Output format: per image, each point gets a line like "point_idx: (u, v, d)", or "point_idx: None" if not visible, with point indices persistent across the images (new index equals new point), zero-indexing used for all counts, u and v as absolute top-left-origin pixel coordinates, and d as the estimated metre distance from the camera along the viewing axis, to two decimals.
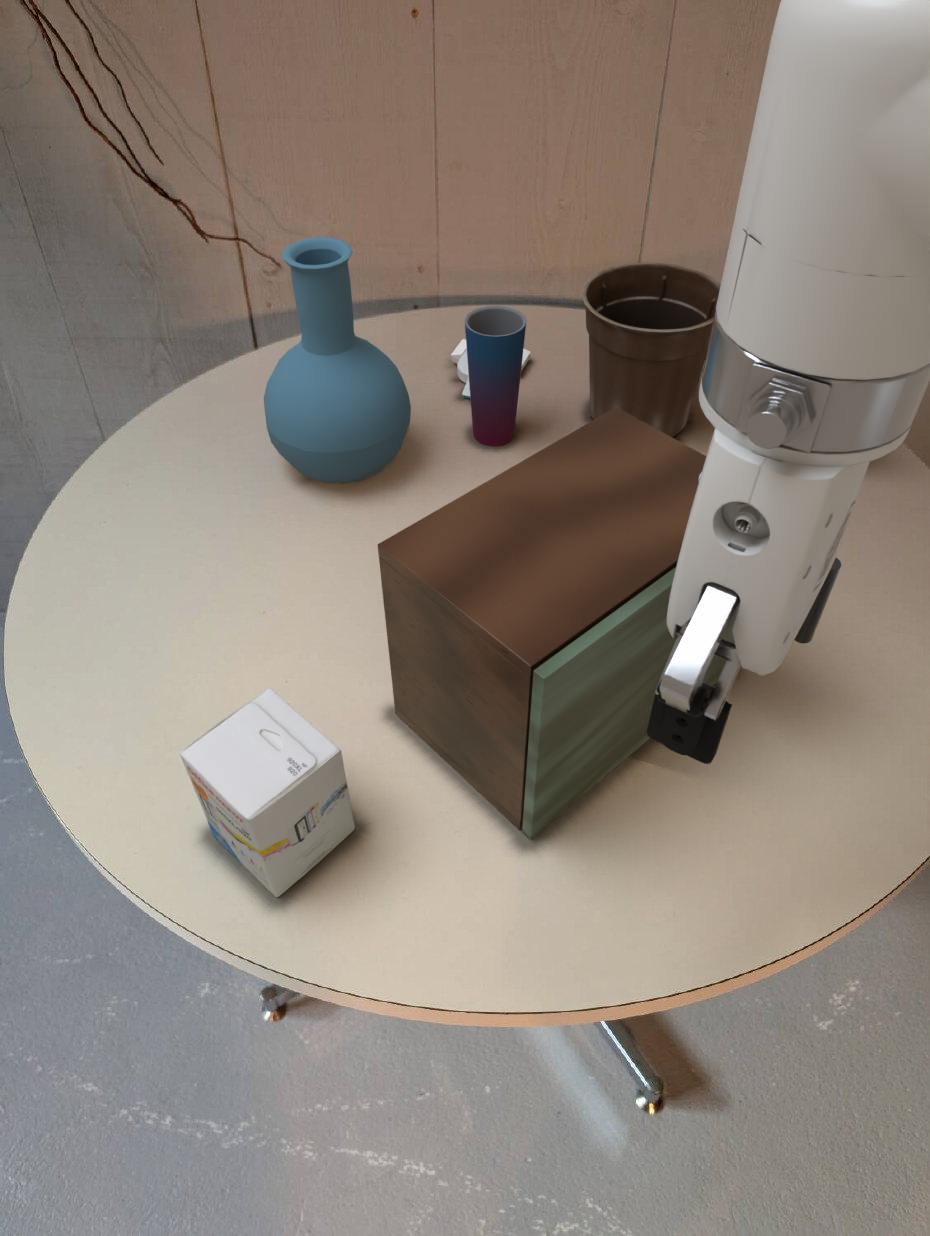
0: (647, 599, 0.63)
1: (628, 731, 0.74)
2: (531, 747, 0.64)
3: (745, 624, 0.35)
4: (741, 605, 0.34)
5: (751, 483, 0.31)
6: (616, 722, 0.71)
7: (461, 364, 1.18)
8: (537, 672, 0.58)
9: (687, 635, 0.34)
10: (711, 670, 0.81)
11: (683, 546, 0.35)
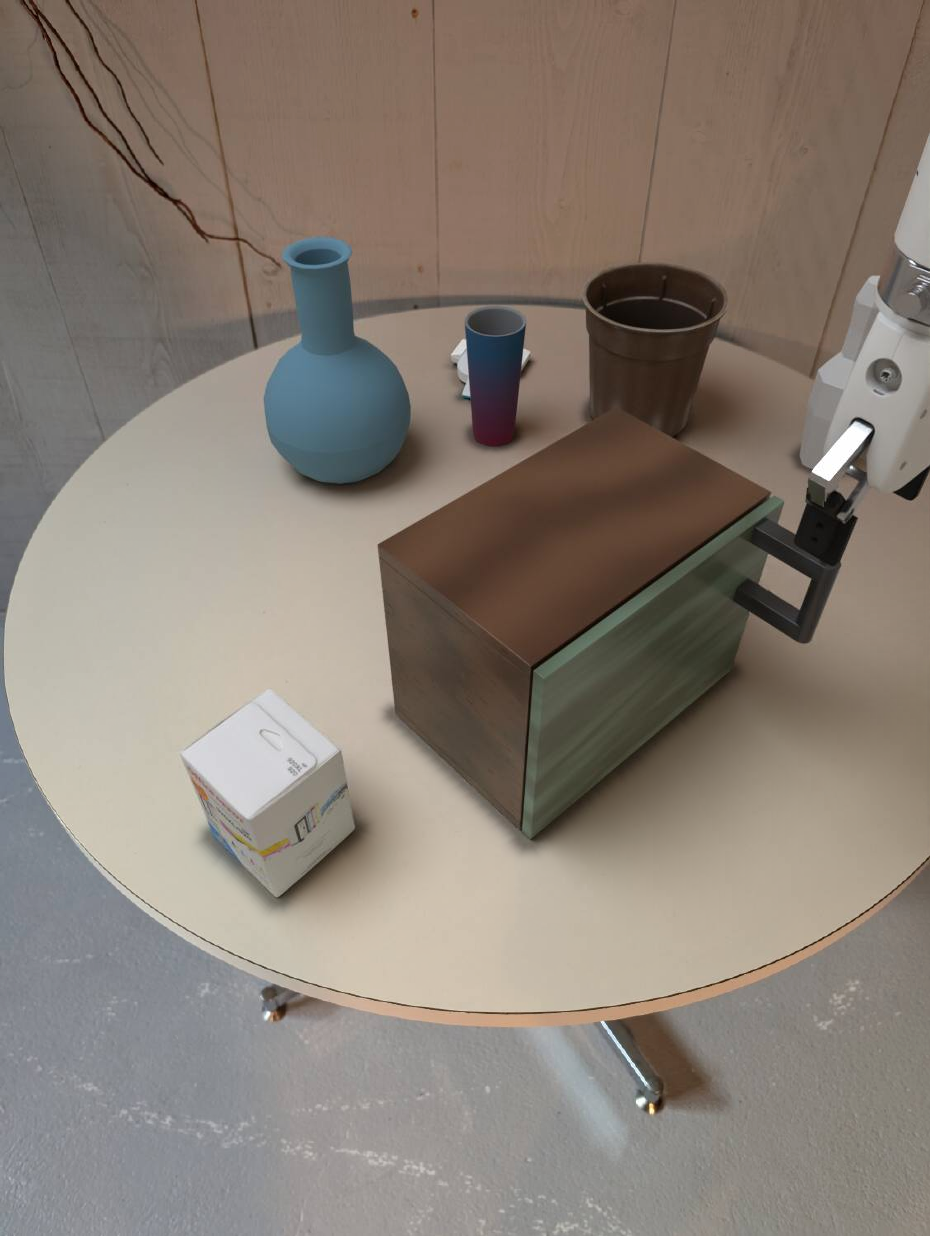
0: (647, 599, 0.63)
1: (628, 731, 0.74)
2: (531, 747, 0.64)
3: (875, 449, 0.52)
4: (875, 434, 0.52)
5: (895, 345, 0.49)
6: (616, 722, 0.71)
7: (461, 364, 1.18)
8: (537, 672, 0.58)
9: (834, 448, 0.52)
10: (711, 670, 0.81)
11: (843, 391, 0.53)
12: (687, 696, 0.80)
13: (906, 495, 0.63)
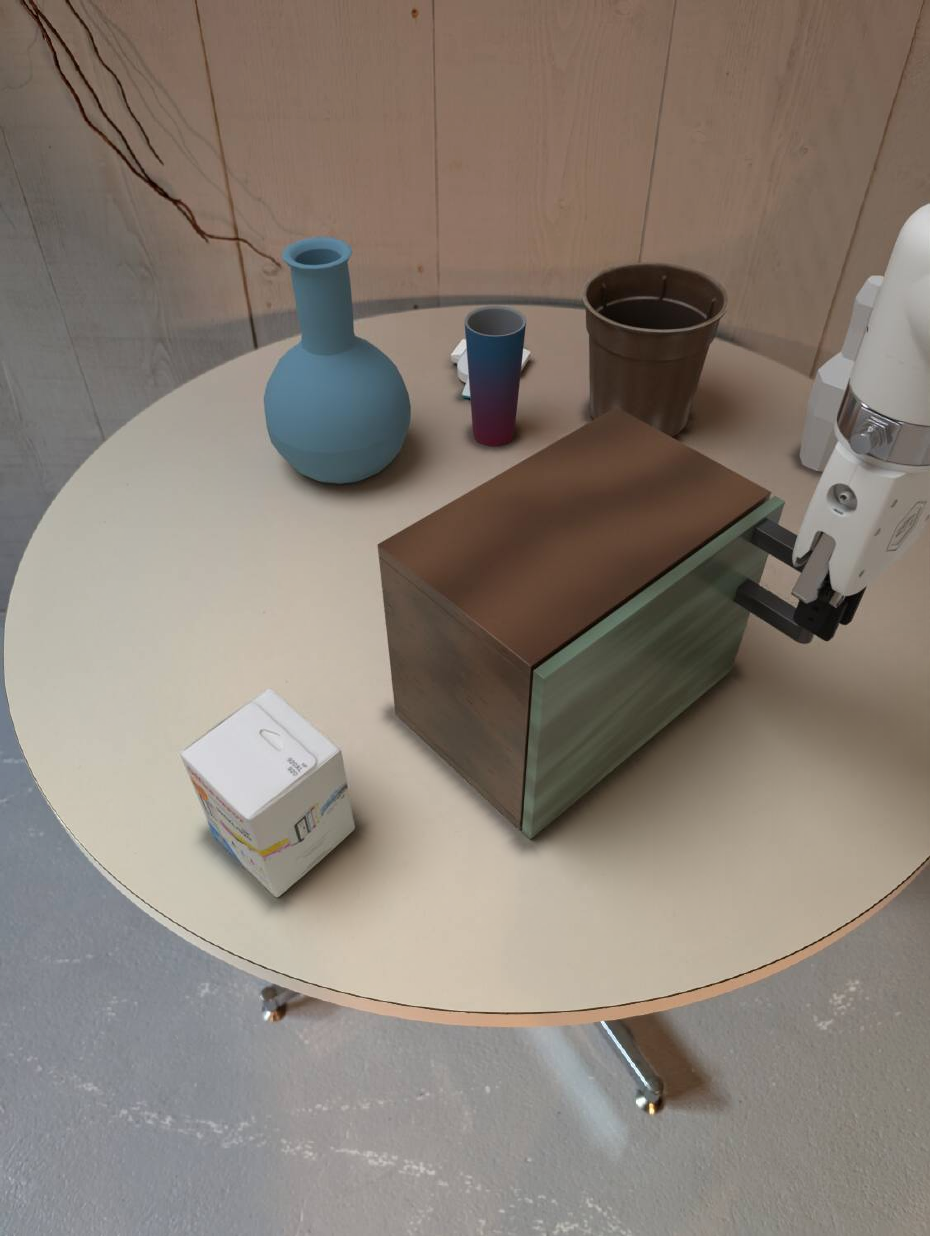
0: (647, 599, 0.63)
1: (628, 732, 0.74)
2: (531, 747, 0.64)
3: (837, 559, 0.59)
4: (836, 547, 0.58)
5: (851, 474, 0.55)
6: (616, 722, 0.71)
7: (461, 364, 1.18)
8: (537, 672, 0.58)
9: (805, 569, 0.61)
10: (712, 671, 0.81)
11: (808, 507, 0.59)
12: (687, 696, 0.80)
13: (840, 620, 0.69)
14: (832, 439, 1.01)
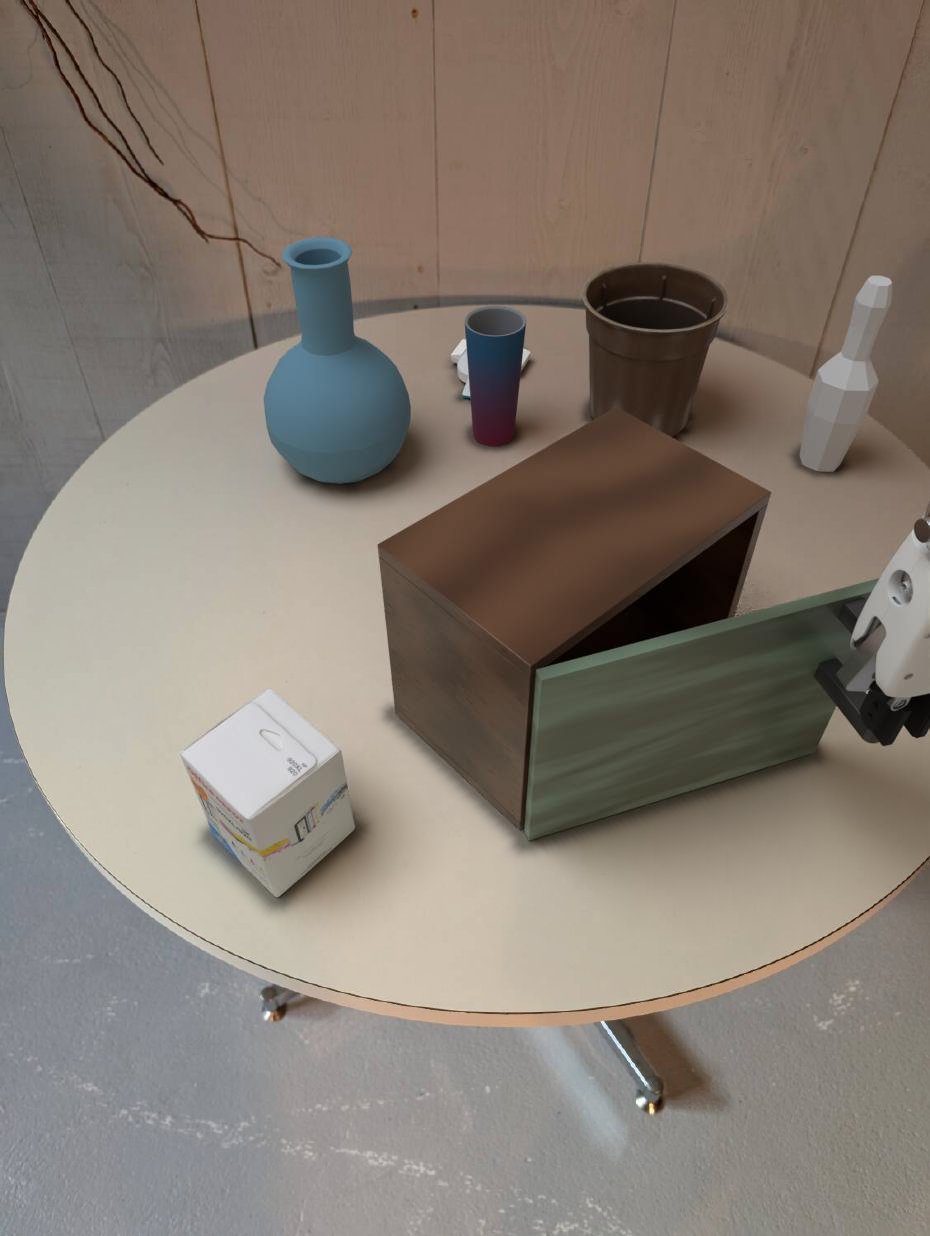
0: (685, 639, 0.60)
1: (661, 772, 0.72)
2: (532, 747, 0.64)
3: (884, 652, 0.53)
4: (885, 638, 0.53)
5: (914, 563, 0.50)
6: (643, 756, 0.69)
7: (461, 364, 1.18)
8: (539, 672, 0.58)
9: (855, 654, 0.56)
10: (783, 744, 0.75)
11: None
12: (746, 761, 0.75)
13: (911, 731, 0.62)
14: (832, 439, 1.01)
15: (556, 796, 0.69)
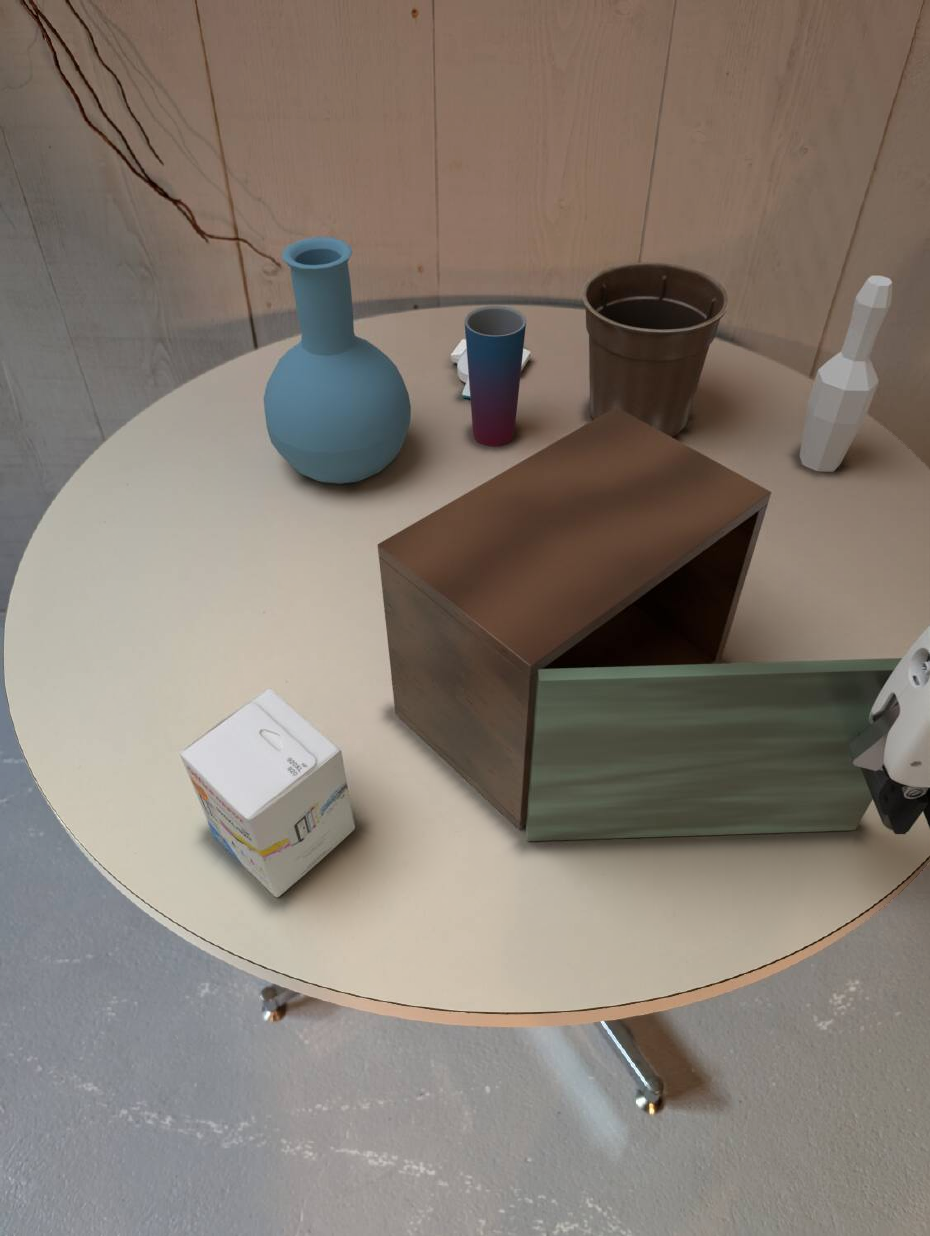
0: (700, 673, 0.58)
1: (673, 807, 0.69)
2: (532, 747, 0.64)
3: (894, 733, 0.49)
4: (898, 718, 0.49)
5: None
6: (652, 785, 0.67)
7: (461, 364, 1.18)
8: (540, 672, 0.58)
9: (869, 728, 0.52)
10: (816, 812, 0.71)
11: (898, 663, 0.50)
12: (772, 819, 0.71)
13: None
14: (832, 439, 1.01)
15: (556, 803, 0.68)
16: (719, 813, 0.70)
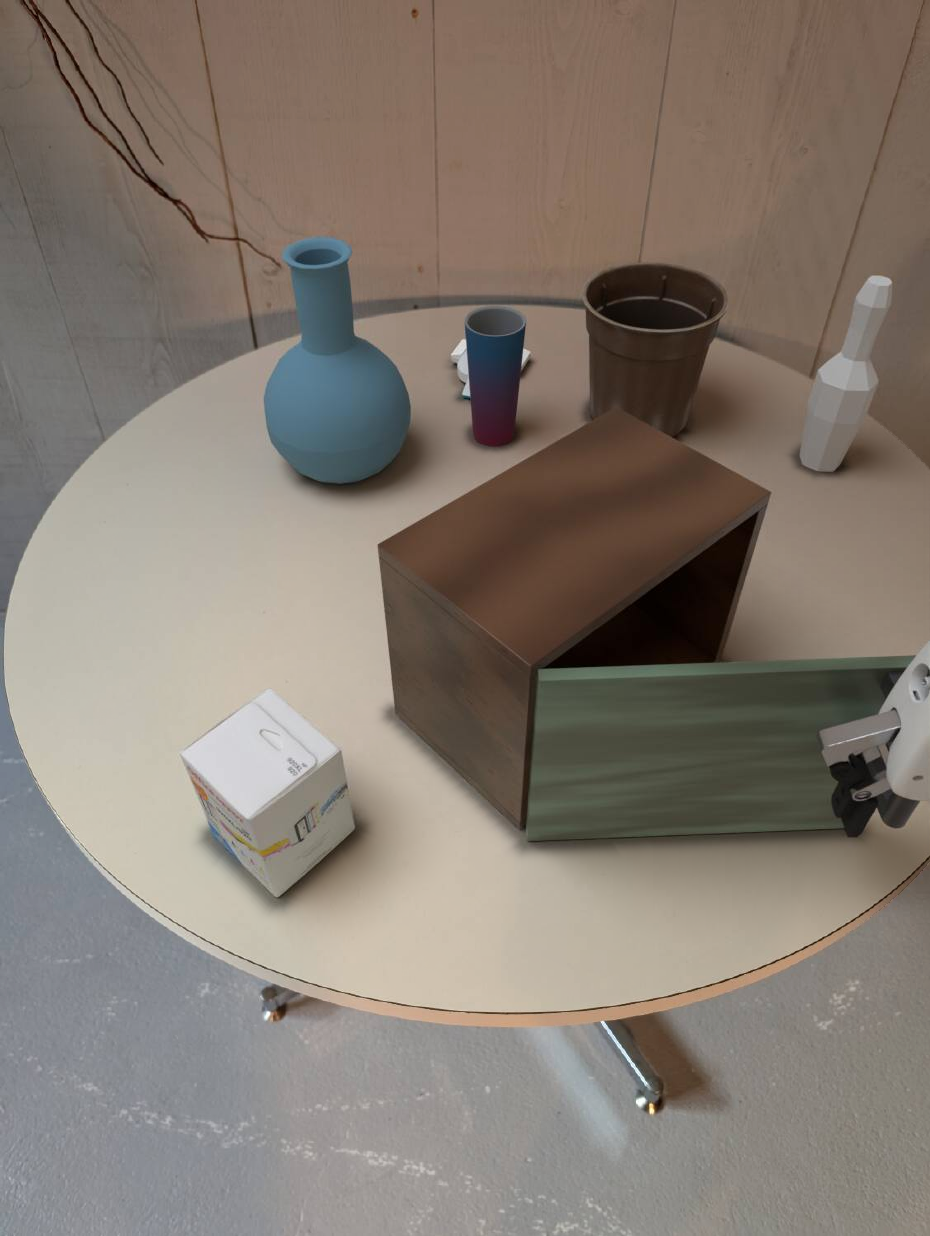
0: (700, 672, 0.58)
1: (672, 806, 0.69)
2: (532, 747, 0.64)
3: (896, 747, 0.50)
4: (899, 733, 0.49)
5: None
6: (651, 784, 0.67)
7: (461, 364, 1.18)
8: (540, 672, 0.58)
9: (855, 722, 0.51)
10: (816, 810, 0.71)
11: (899, 678, 0.50)
12: (771, 817, 0.71)
13: None
14: (832, 439, 1.01)
15: (556, 803, 0.68)
16: (719, 812, 0.70)
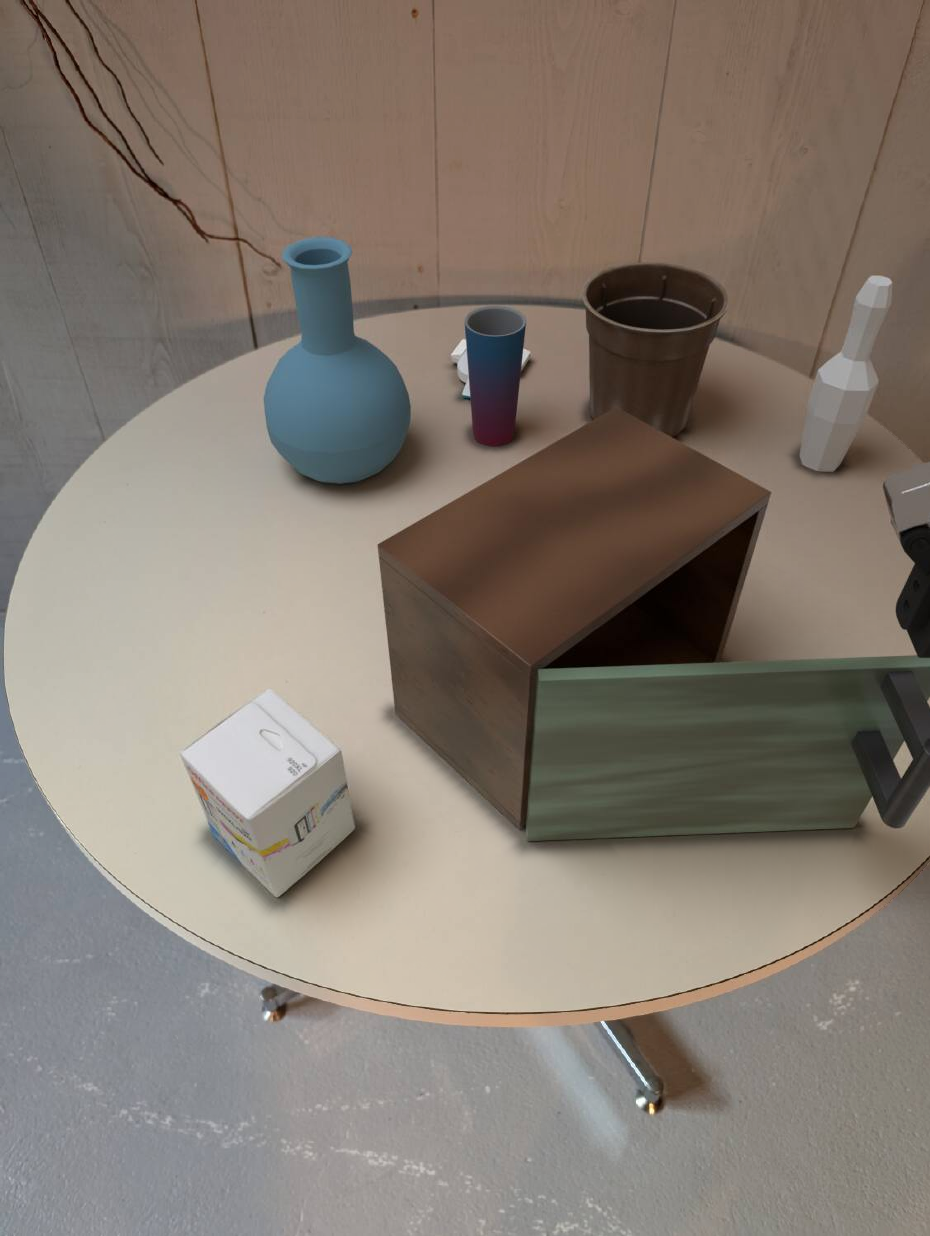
0: (700, 672, 0.58)
1: (672, 806, 0.69)
2: (532, 747, 0.64)
3: None
4: None
5: None
6: (651, 784, 0.67)
7: (461, 364, 1.18)
8: (540, 672, 0.58)
9: None
10: (816, 810, 0.71)
11: None
12: (771, 817, 0.71)
13: None
14: (832, 439, 1.01)
15: (556, 803, 0.68)
16: (719, 812, 0.70)
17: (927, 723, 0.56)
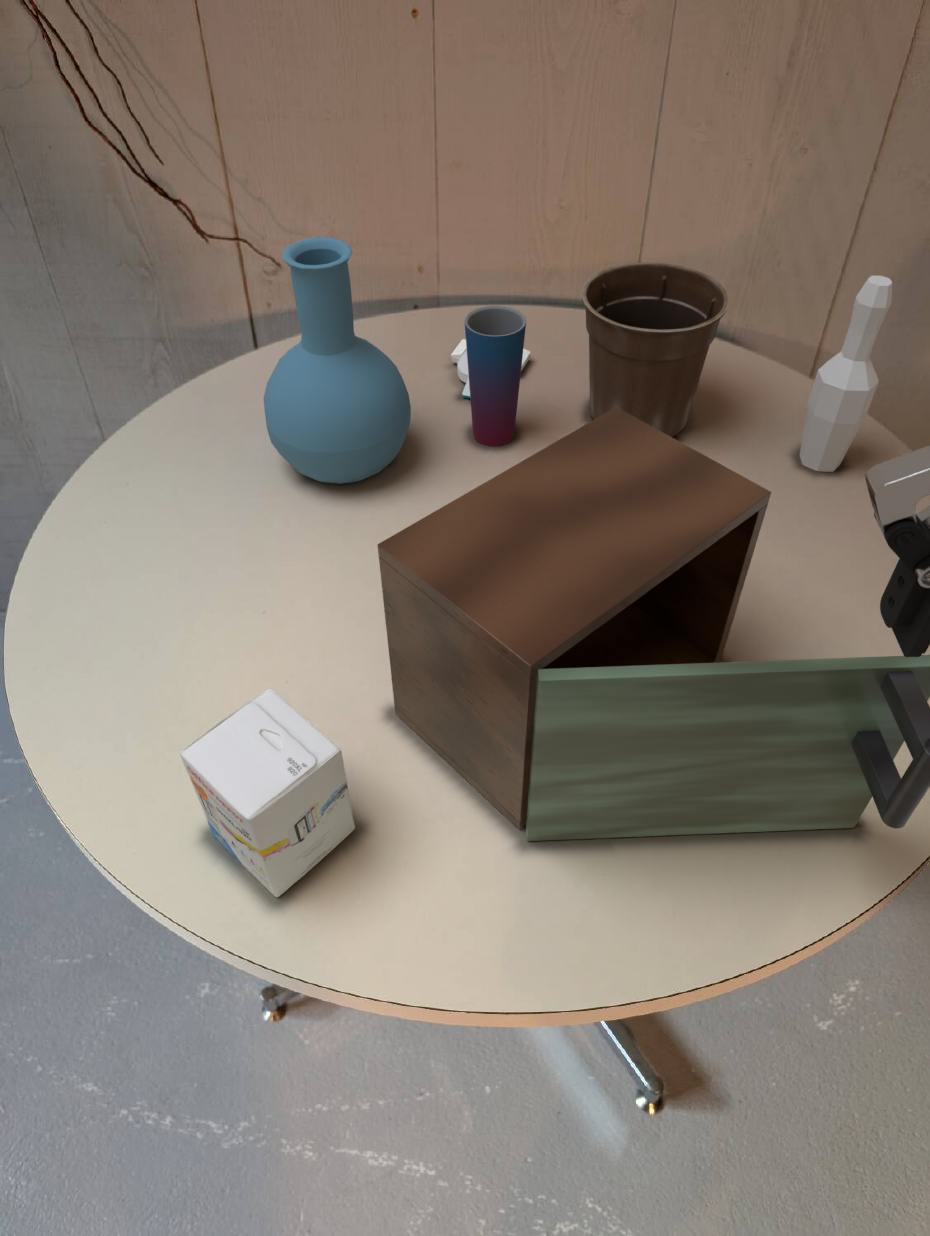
0: (700, 672, 0.58)
1: (672, 806, 0.69)
2: (532, 747, 0.64)
3: None
4: None
5: None
6: (651, 784, 0.67)
7: (461, 364, 1.18)
8: (540, 672, 0.58)
9: (927, 448, 0.32)
10: (816, 810, 0.71)
11: None
12: (771, 817, 0.71)
13: None
14: (832, 439, 1.01)
15: (556, 803, 0.68)
16: (719, 812, 0.70)
17: (927, 723, 0.56)
